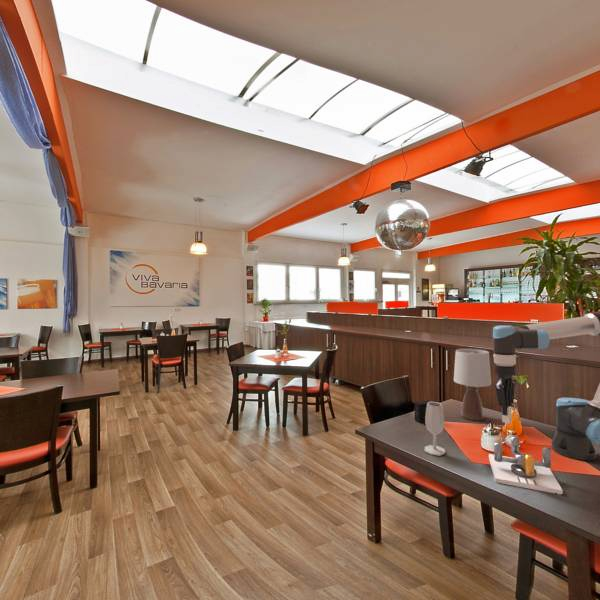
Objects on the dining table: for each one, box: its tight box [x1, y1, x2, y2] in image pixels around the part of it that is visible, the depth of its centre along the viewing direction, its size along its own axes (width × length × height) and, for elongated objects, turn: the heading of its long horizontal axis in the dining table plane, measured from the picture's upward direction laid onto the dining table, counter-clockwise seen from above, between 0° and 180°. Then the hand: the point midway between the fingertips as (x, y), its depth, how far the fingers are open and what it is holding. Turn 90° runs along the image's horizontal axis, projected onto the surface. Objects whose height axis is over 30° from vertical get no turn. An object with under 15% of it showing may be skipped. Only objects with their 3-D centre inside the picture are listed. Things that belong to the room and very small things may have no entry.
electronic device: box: [414, 400, 432, 424], centre depth 181 cm, size 4×10×10 cm, turn 107°
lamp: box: [453, 348, 492, 422], centre depth 185 cm, size 19×19×37 cm
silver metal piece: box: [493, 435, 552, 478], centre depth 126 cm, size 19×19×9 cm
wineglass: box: [424, 401, 446, 457], centre depth 145 cm, size 9×9×21 cm
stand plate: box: [488, 453, 564, 495], centre depth 127 cm, size 20×20×2 cm
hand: (506, 422), depth 134 cm, fingers closed
